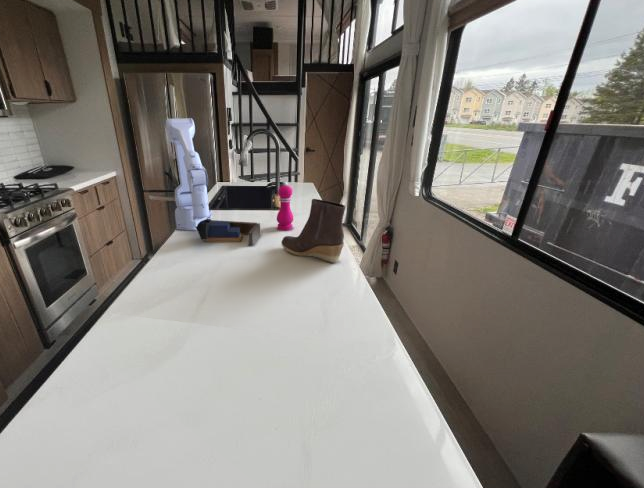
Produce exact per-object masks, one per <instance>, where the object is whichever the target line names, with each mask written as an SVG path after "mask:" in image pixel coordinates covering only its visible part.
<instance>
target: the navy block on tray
mask: <svg viewBox="0 0 644 488" xmlns="http://www.w3.org/2000/svg"><path fill="white" fill-rule="evenodd" d="M211 221H218V220H216V219H215V220H214V219H211ZM229 221H230V227H240V233H242V236H244V235H245V236H248V246H250V247H252V246H254V245H255V243H256V242H257V241H258V239H259V238H260V236H261V222H260V223H259V222H250V221H233V220H229Z"/></svg>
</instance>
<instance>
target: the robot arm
mask: <svg viewBox="0 0 644 488" xmlns="http://www.w3.org/2000/svg"><path fill="white" fill-rule="evenodd" d="M165 128H166V136H167V139H168V141H169V142H171V143H173V146H174V149H175V158H176V163H177V170H178V177H179V185H178V186H176V187H175V189H174V200H175V204H176V208H175V210H174V219H175V225H176V228H175V230H181V231H182V230H183V231H197V233H198V236H199V238H200V240H203V241H205V240H206V239H207V237H208V230H209V226H210V223H211V220H212V218H213V214H212V213H213V212H212V209H210V208H209V197H208V187H207V186H208V185H209V176H208V171H207V169H206V168H205V167H204V166H203V164H202V161H201V158H200V154H199V153H198V152H197V151H195V147H194V141H193V138H194V136H195V134H196V126H195V122H194V119H193V118H192V117H189V118H187V117H186V118H185V117H184V118H183V117H182V118H169V117H168V118H167V117H166V119H165Z"/></svg>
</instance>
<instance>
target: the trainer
mask: <svg viewBox="0 0 644 488" xmlns="http://www.w3.org/2000/svg"><path fill="white" fill-rule="evenodd" d="M230 221H231V220H217V221H211V223H210V226H209V230H208V237H207V239H206V240H204V242H209V243H211V242H214V243H215V242H216V243H219V242H220V243H221V242H227V243H233V242H234V243H235V242H240V243H241V240H242V237H243V235H242V233H240V227H230Z"/></svg>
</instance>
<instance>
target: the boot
mask: <svg viewBox="0 0 644 488" xmlns="http://www.w3.org/2000/svg"><path fill="white" fill-rule="evenodd" d="M346 207H347V206H346V205H344V204H343V203H340V202H336V201H329V200H324V199H318V198H312V199H311V206H310V211H309V215H308V218H307V220H306V223H305V224H304V225H303V228H302V230H301V232H300V233H299V235H297V236H292V235H285V236H284V237H283V238H282V239H281V246H282V247H283V249H284V250H286V251H287V252H288V253H291V254H292V255H295V256H302V257H304V256H305V257H306V256H307V257H308V256H309V257H315V258H319V259H321V260H323V261H326V262H328V263H334V264H335V263H337V262H339V259H340V256H341V253H342V249H343V248H344V245H345V242H344V241H345V233H344V227H343V220H344V216H345V215H344V214H345V211H346Z"/></svg>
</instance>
